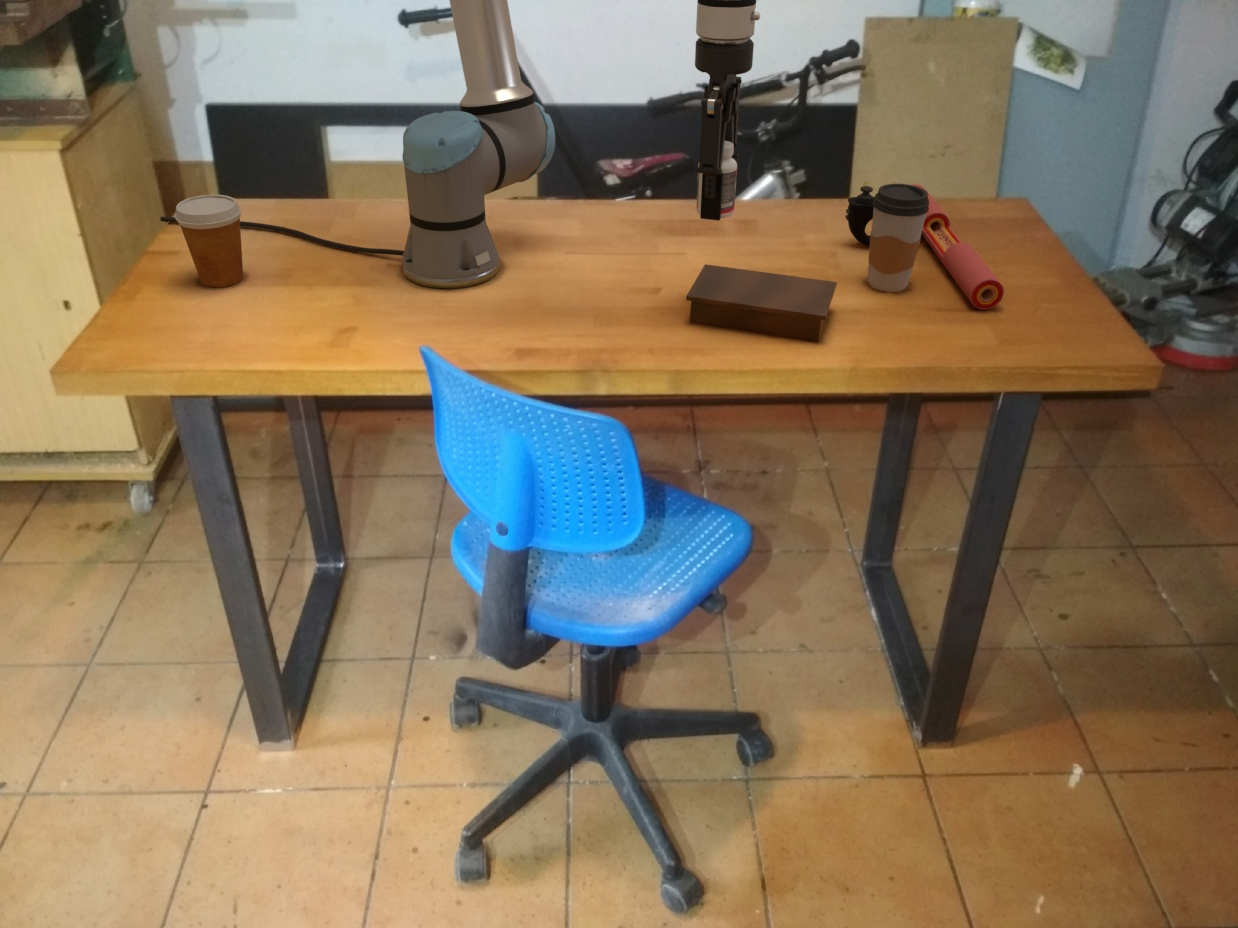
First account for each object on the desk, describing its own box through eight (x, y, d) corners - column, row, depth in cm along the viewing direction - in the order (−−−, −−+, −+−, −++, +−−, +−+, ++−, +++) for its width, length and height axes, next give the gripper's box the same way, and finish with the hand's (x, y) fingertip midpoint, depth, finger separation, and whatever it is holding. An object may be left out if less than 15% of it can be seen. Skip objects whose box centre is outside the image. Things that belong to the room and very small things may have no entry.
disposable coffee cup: (265, 279, 165) (252, 204, 159) (209, 297, 159) (192, 221, 153) (233, 261, 171) (219, 189, 164) (178, 279, 165) (160, 204, 158)
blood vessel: (897, 210, 195) (901, 183, 192) (924, 210, 195) (928, 183, 192) (967, 310, 160) (974, 279, 157) (1000, 310, 160) (1007, 279, 158)
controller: (839, 240, 182) (847, 183, 177) (909, 239, 183) (919, 183, 178) (845, 250, 179) (853, 192, 173) (917, 249, 180) (927, 192, 174)
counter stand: (684, 324, 155) (686, 296, 152) (703, 291, 164) (705, 264, 162) (821, 344, 150) (825, 315, 148) (832, 309, 160) (836, 282, 157)
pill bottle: (742, 215, 150) (746, 146, 144) (711, 222, 147) (715, 152, 142) (718, 204, 153) (722, 136, 148) (688, 211, 151) (691, 142, 146)
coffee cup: (919, 279, 169) (936, 188, 161) (908, 299, 163) (925, 205, 155) (867, 269, 172) (882, 179, 164) (854, 289, 166) (868, 196, 157)
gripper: (738, 55, 129) (727, 237, 142) (767, 26, 144) (754, 193, 157) (678, 51, 131) (672, 231, 144) (712, 22, 146) (704, 188, 159)
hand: (715, 211), depth 150 cm, fingers closed on pill bottle, 5 cm apart
